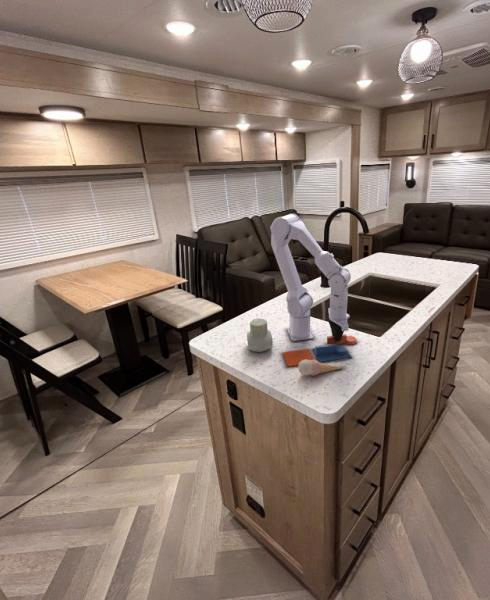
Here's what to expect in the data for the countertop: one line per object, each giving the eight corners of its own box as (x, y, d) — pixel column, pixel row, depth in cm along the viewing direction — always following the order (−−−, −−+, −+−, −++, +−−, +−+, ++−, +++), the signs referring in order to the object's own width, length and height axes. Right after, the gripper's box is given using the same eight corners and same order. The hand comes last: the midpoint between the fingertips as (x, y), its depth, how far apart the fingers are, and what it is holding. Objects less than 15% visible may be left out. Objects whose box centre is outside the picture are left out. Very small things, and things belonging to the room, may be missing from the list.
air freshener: (273, 354, 108) (272, 328, 104) (249, 357, 107) (247, 330, 103) (269, 338, 118) (268, 314, 114) (247, 340, 117) (245, 316, 113)
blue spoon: (317, 357, 105) (317, 349, 104) (313, 351, 109) (314, 343, 107) (348, 353, 107) (348, 346, 106) (344, 347, 110) (344, 340, 109)
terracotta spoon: (329, 347, 112) (329, 340, 110) (325, 341, 115) (325, 334, 114) (358, 343, 114) (358, 336, 113) (353, 338, 117) (354, 330, 116)
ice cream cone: (338, 365, 103) (294, 364, 98) (344, 357, 100) (299, 356, 95) (341, 378, 100) (297, 378, 95) (348, 371, 97) (302, 370, 92)
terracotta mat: (282, 353, 108) (282, 352, 108) (308, 350, 110) (308, 349, 110) (287, 367, 101) (287, 365, 101) (315, 363, 103) (315, 362, 103)
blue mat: (312, 349, 110) (312, 348, 110) (342, 345, 113) (342, 344, 112) (319, 362, 103) (319, 361, 103) (351, 358, 105) (351, 356, 105)
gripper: (358, 312, 102) (355, 348, 108) (341, 295, 115) (340, 328, 121) (337, 314, 101) (335, 351, 106) (323, 297, 114) (322, 330, 119)
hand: (336, 339), depth 113 cm, fingers closed on terracotta spoon
